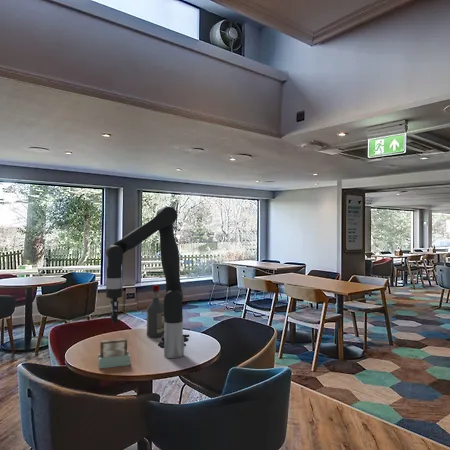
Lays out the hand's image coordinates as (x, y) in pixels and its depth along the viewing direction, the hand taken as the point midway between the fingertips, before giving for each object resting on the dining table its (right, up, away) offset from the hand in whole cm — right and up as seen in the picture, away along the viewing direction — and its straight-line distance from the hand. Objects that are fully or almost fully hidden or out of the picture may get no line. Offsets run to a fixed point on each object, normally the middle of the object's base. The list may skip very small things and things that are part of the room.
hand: (114, 321), depth 181 cm
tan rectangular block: (0, -18, 0) cm, 18 cm away
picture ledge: (0, -20, 0) cm, 20 cm away
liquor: (+11, -21, +47) cm, 52 cm away
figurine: (+24, -21, +33) cm, 46 cm away
